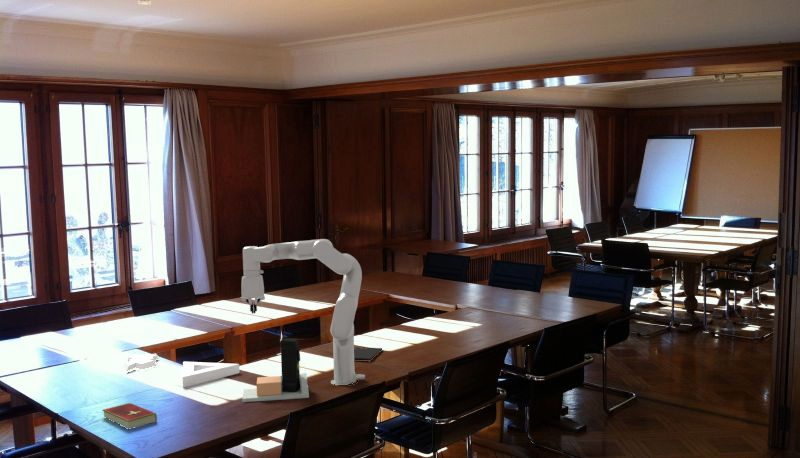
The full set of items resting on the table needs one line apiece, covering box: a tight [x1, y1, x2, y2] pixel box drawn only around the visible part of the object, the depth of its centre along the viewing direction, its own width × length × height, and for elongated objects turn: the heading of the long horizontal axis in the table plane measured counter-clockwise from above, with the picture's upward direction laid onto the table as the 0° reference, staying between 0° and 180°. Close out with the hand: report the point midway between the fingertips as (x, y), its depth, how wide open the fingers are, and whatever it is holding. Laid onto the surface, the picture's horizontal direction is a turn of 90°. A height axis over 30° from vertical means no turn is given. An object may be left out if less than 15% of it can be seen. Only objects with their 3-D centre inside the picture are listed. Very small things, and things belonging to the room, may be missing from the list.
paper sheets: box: [123, 353, 160, 371], centre depth 371 cm, size 35×20×6 cm, turn 13°
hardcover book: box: [102, 402, 158, 429], centre depth 291 cm, size 12×21×4 cm, turn 47°
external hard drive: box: [354, 346, 383, 360], centre depth 382 cm, size 14×23×3 cm, turn 165°
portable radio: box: [279, 334, 301, 392], centre depth 320 cm, size 8×6×25 cm
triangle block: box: [182, 361, 240, 388], centre depth 349 cm, size 30×26×6 cm
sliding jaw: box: [256, 375, 282, 396], centre depth 319 cm, size 11×10×5 cm
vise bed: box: [241, 372, 310, 403], centre depth 319 cm, size 28×14×8 cm, turn 99°
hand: (253, 312), depth 337 cm, fingers closed
